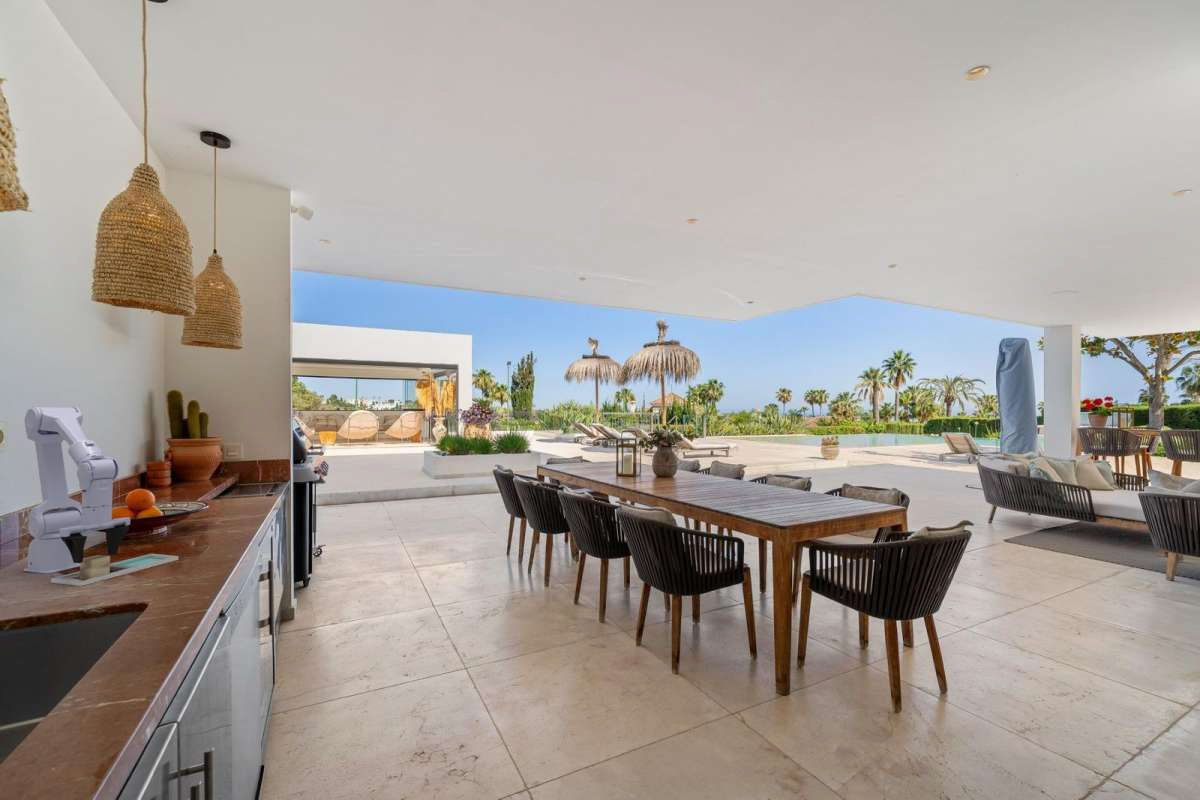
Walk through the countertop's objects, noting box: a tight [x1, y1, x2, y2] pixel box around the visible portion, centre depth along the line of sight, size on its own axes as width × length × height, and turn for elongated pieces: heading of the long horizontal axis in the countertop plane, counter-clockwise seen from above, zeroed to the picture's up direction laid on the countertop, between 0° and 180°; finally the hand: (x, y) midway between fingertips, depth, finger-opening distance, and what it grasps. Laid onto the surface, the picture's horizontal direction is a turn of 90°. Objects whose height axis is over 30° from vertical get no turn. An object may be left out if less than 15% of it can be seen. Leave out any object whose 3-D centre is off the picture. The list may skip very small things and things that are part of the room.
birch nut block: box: [79, 554, 111, 580], centre depth 135 cm, size 4×4×5 cm
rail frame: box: [50, 553, 179, 587], centre depth 141 cm, size 10×24×1 cm, turn 167°
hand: (95, 558), depth 135 cm, fingers open, 7 cm apart
